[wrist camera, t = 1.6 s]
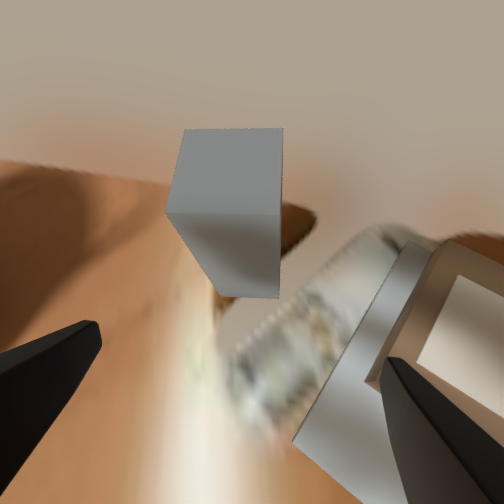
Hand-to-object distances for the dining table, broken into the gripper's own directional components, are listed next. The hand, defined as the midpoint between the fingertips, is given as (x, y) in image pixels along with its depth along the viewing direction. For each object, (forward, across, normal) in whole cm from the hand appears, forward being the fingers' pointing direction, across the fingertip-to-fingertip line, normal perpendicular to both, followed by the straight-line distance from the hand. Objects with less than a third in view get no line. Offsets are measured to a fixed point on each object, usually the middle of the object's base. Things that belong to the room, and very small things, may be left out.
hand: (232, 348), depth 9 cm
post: (+15, +2, +5) cm, 16 cm away
